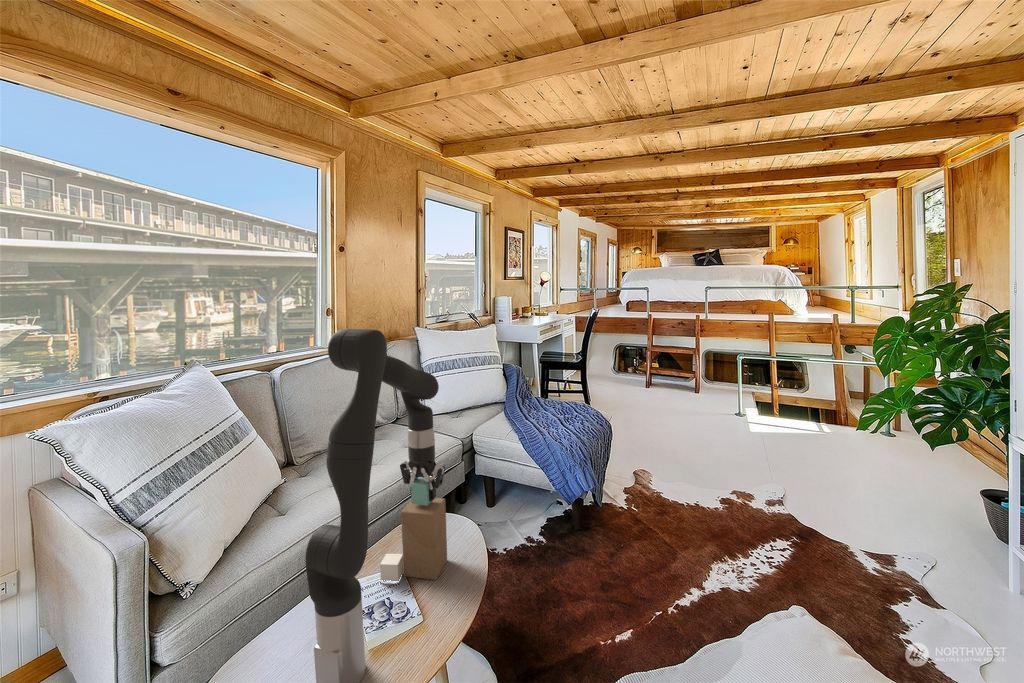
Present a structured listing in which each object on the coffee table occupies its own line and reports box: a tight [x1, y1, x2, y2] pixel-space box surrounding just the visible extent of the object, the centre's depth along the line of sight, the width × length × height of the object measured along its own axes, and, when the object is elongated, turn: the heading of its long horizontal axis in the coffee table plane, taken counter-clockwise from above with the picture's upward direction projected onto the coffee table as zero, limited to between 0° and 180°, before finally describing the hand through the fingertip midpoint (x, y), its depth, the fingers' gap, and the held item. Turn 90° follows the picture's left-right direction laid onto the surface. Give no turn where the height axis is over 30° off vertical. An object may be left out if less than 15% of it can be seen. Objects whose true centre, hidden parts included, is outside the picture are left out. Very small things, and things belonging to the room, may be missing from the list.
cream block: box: [379, 553, 404, 581], centre depth 126 cm, size 5×5×6 cm
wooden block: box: [400, 497, 448, 581], centre depth 130 cm, size 10×10×20 cm
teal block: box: [410, 477, 432, 506], centre depth 128 cm, size 5×5×6 cm
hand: (423, 498), depth 128 cm, fingers closed on teal block, 5 cm apart
